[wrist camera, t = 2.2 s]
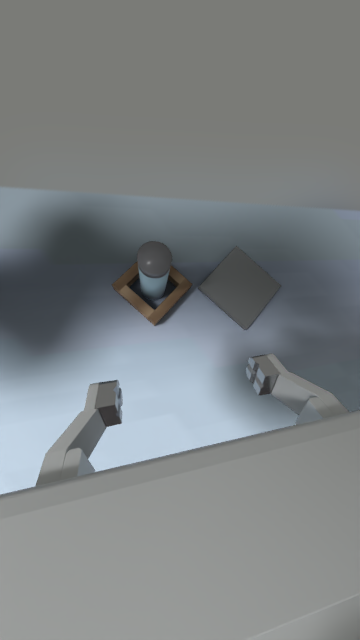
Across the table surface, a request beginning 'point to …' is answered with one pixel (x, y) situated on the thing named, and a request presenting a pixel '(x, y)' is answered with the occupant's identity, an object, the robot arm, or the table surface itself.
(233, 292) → the grey mat
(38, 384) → the table surface
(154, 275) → the cylinder
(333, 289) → the table surface
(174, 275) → the walnut dock
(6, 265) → the table surface
